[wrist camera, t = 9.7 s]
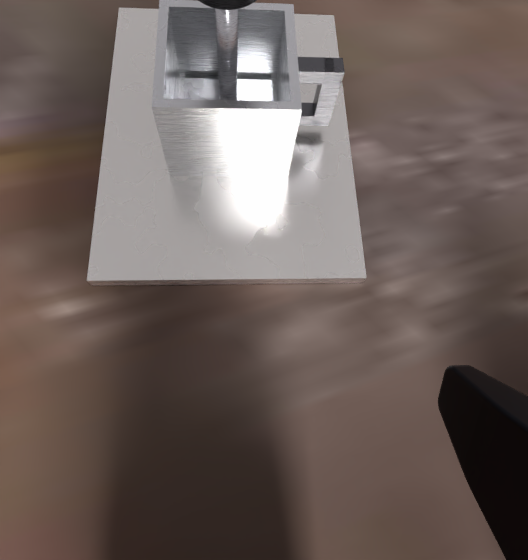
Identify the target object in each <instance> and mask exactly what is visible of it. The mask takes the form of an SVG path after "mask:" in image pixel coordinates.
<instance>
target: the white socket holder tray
mask: <svg viewBox="0 0 528 560" xmlns="http://www.w3.org/2000/svg"><path fill="white" fill-rule="evenodd" d="M343 76H344V66H343V58H339V53H338V45H337V37H336V29H335V21H334V15H311V14H294V6H293V4H273V3H252V4H250V5H248V6H246V7H243V8H240V9H238V57H237V79H247V80H272V85H273V101H251V100H203V99H183V96H184V78H206V79H219V77H218V56H217V35H216V15H215V8H212V7H209V6H207V5H205V4H203V3H201V2H200V1H193V0H159V9H144V8H119V13H118V21H117V30H116V38H115V46H114V55H113V63H112V72H111V80H110V89H109V97H108V106H107V114H106V123H105V131H104V140H103V148H102V157H101V165H100V173H99V182H98V190H97V199H96V207H95V216H94V224H93V233H92V241H91V250H90V258H89V267H88V275H87V281H88V282H89V283H90V284H91V285H92V286H115V285H211V284H307V283H363V282H364V280H365V279H366V270H365V262H364V254H363V246H362V238H361V230H360V222H359V214H358V206H357V198H356V190H355V182H354V174H353V166H352V158H351V150H350V142H349V134H348V126H347V118H346V109H345V101H344V93H343V85H342V79H343Z"/></svg>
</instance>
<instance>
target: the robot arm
mask: <svg viewBox="0 0 528 560" xmlns="http://www.w3.org/2000/svg"><path fill="white" fill-rule="evenodd" d="M438 406H439V410H440V413H441V416H442V418H443V421H444V423H445V426H446V429H447V431H448V434H449V437H450V439H451V442H452V444H453V447H454V450H455V452H456V455H457V457H458V460H459V463H460V465H461V468H462V470H463V473H464V475H465V478H466V480H467V482H468V484H469V486H470V489H471V491H472V493H473V495H474V497H475V499H476V501H477V503H478V505H479V507H480V509H481V511H482V513H483V515H484V517H485V519H486V521H487V523H488V525H489V527H490V529H491V530H492V532H493V534H494V536H495V538H496V540H497V542H498V544H499V546H500V548H501V550H502V552H503V554H504V556H505V558H506V560H528V396H526V395H524V394H522V393H520V392H518V391H517V390H515V389H513V388H511V387H509V386H507V385H505V384H503V383H502V382H500V381H498V380H496V379H494V378H492V377H490V376H488V375H487V374H485V373H483V372H481V371H479V370H477V369H475V368H473V367H471V366H469V365H452V366H449V367H447V369H446V370H445V373H444V377H443V381H442V385H441V389H440V393H439V397H438Z"/></svg>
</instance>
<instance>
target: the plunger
mask: <svg viewBox="0 0 528 560" xmlns="http://www.w3.org/2000/svg"><path fill="white" fill-rule="evenodd" d="M198 1H200V2H201V3H203V4H205V5H207V6H209V7H212V8H215V15H216V35H217V56H218V77H219V79H206V78H184V96H183V99H203V100H251V101H273V85H272V80H247V79H237V57H238V9H240V8H243V7H246V6H248V5H250V4H252V3H254V2H255V1H256V0H198Z"/></svg>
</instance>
